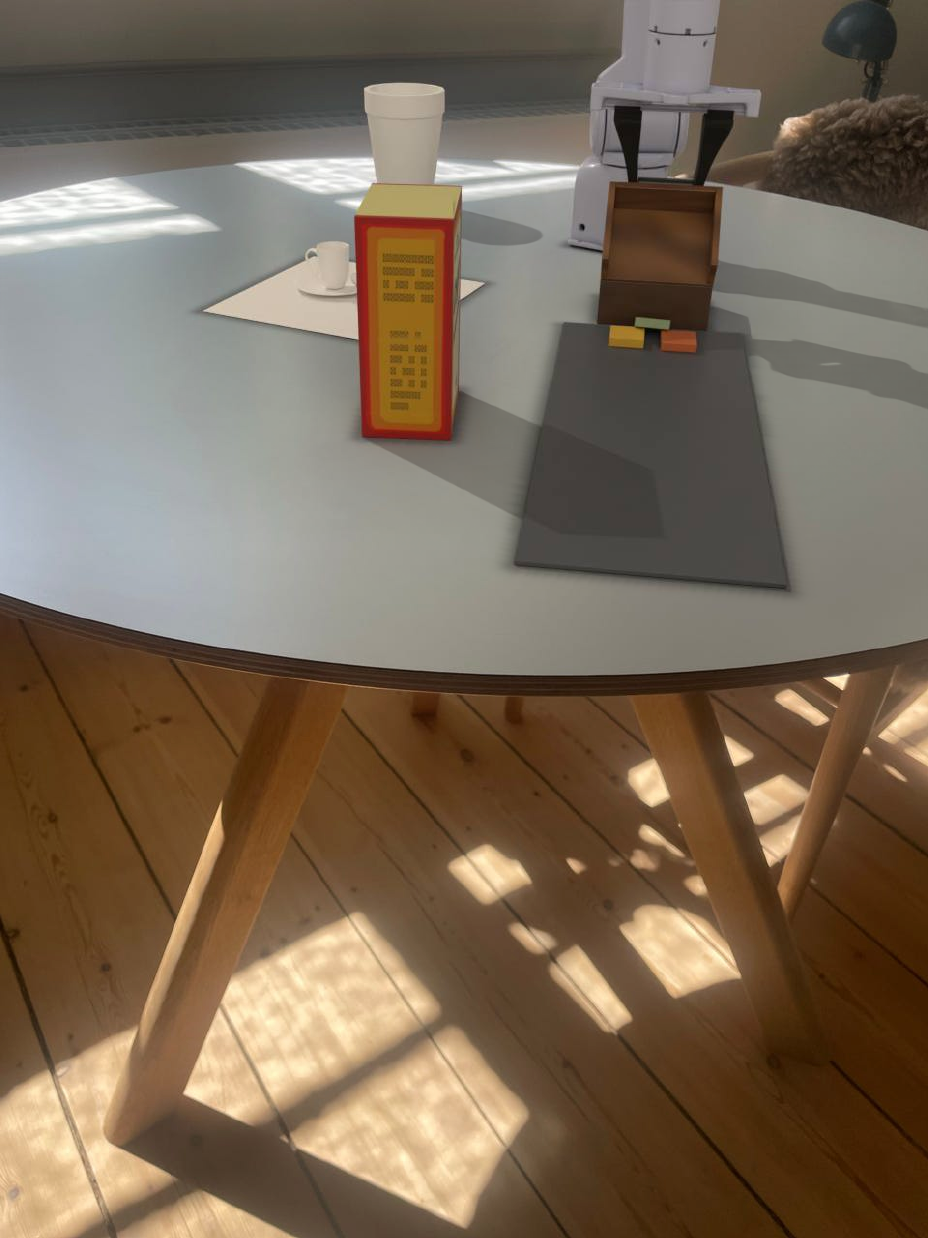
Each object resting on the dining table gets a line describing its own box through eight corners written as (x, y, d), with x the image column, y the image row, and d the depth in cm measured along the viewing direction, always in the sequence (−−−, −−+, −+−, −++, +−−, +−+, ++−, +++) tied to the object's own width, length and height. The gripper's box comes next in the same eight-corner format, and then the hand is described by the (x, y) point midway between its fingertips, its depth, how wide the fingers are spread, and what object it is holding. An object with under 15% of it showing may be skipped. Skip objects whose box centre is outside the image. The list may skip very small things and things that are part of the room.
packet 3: (668, 329, 98) (670, 320, 98) (634, 326, 99) (635, 316, 98) (669, 329, 101) (670, 320, 101) (636, 325, 102) (637, 316, 101)
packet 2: (695, 331, 98) (694, 340, 99) (661, 329, 99) (660, 338, 99) (696, 344, 96) (695, 352, 96) (661, 341, 96) (660, 350, 97)
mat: (563, 325, 103) (563, 321, 102) (740, 336, 101) (741, 333, 101) (514, 564, 67) (514, 560, 67) (785, 588, 65) (786, 584, 65)
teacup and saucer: (397, 283, 112) (396, 241, 110) (357, 306, 106) (356, 262, 104) (321, 270, 115) (319, 230, 113) (279, 292, 109) (275, 250, 107)
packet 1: (644, 327, 99) (643, 335, 100) (610, 324, 100) (609, 333, 100) (644, 339, 97) (643, 348, 97) (609, 337, 97) (608, 346, 97)
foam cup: (366, 195, 141) (362, 82, 134) (438, 194, 142) (439, 82, 135) (370, 215, 134) (367, 96, 126) (447, 213, 135) (448, 95, 127)
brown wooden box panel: (706, 330, 102) (713, 286, 100) (596, 323, 103) (600, 280, 101) (703, 302, 109) (709, 260, 106) (600, 296, 110) (604, 254, 107)
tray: (713, 286, 100) (718, 265, 97) (600, 280, 101) (601, 258, 98) (719, 189, 102) (724, 165, 99) (609, 183, 104) (611, 159, 100)
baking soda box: (377, 386, 90) (372, 177, 81) (459, 389, 89) (462, 180, 81) (362, 436, 82) (353, 210, 73) (450, 440, 82) (453, 214, 73)
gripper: (593, 33, 92) (581, 204, 100) (773, 40, 90) (746, 213, 98) (597, 23, 98) (585, 185, 105) (766, 29, 96) (741, 193, 104)
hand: (663, 197), depth 102 cm, fingers closed on tray, 5 cm apart
